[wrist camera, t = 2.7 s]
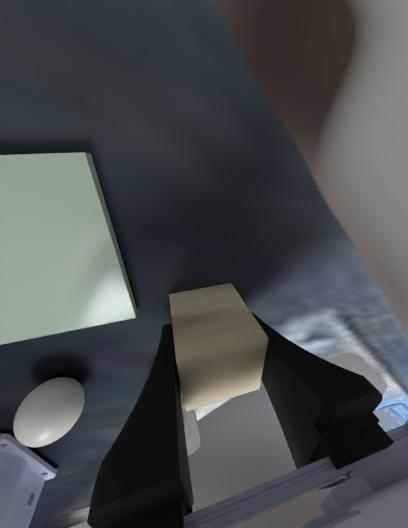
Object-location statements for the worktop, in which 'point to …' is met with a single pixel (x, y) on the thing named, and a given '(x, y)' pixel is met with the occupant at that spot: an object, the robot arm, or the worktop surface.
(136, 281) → the worktop surface
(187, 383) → the maple block
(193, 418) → the clear glass cylinder
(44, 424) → the offwhite ball
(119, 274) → the sage tile
